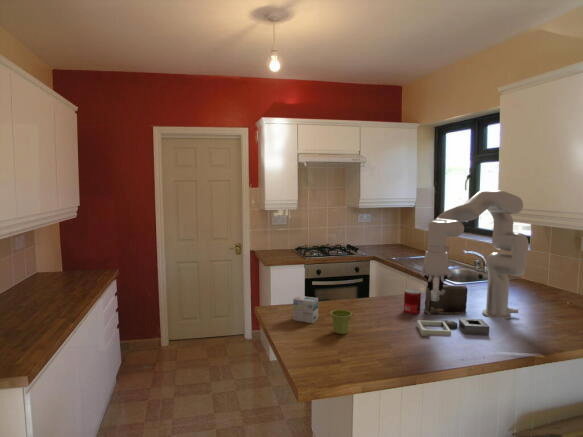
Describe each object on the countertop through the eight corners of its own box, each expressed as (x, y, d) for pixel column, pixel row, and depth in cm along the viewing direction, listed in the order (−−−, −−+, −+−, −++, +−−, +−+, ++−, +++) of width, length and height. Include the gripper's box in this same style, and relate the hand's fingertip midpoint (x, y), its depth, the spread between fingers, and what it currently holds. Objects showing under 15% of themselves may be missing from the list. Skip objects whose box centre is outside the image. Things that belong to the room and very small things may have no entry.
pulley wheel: (454, 325, 186) (455, 319, 185) (459, 331, 179) (459, 324, 178) (439, 324, 186) (439, 318, 186) (443, 330, 180) (443, 323, 179)
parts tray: (444, 327, 184) (444, 321, 183) (450, 337, 172) (451, 331, 172) (417, 325, 185) (417, 320, 185) (422, 335, 173) (422, 329, 173)
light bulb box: (318, 319, 194) (318, 297, 193) (313, 323, 188) (313, 301, 187) (298, 316, 198) (298, 294, 197) (292, 320, 192) (292, 298, 191)
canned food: (420, 314, 200) (421, 293, 199) (404, 313, 202) (405, 292, 201) (419, 309, 208) (420, 289, 207) (403, 308, 209) (404, 288, 208)
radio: (464, 309, 210) (465, 281, 208) (473, 314, 201) (474, 285, 199) (421, 310, 207) (422, 282, 206) (428, 316, 199) (429, 286, 197)
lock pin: (438, 299, 179) (439, 274, 177) (439, 301, 175) (440, 276, 174) (429, 298, 179) (430, 274, 178) (431, 301, 176) (432, 276, 174)
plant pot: (326, 329, 180) (326, 311, 179) (344, 326, 184) (344, 308, 183) (336, 337, 172) (337, 317, 171) (355, 334, 175) (355, 314, 175)
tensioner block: (481, 330, 180) (482, 319, 180) (488, 337, 171) (489, 326, 171) (458, 328, 182) (459, 318, 181) (464, 336, 173) (464, 325, 172)
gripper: (454, 248, 178) (452, 288, 179) (415, 247, 180) (414, 287, 181) (458, 251, 170) (457, 293, 172) (418, 250, 172) (417, 291, 174)
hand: (435, 289), depth 177 cm, fingers closed on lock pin, 3 cm apart
